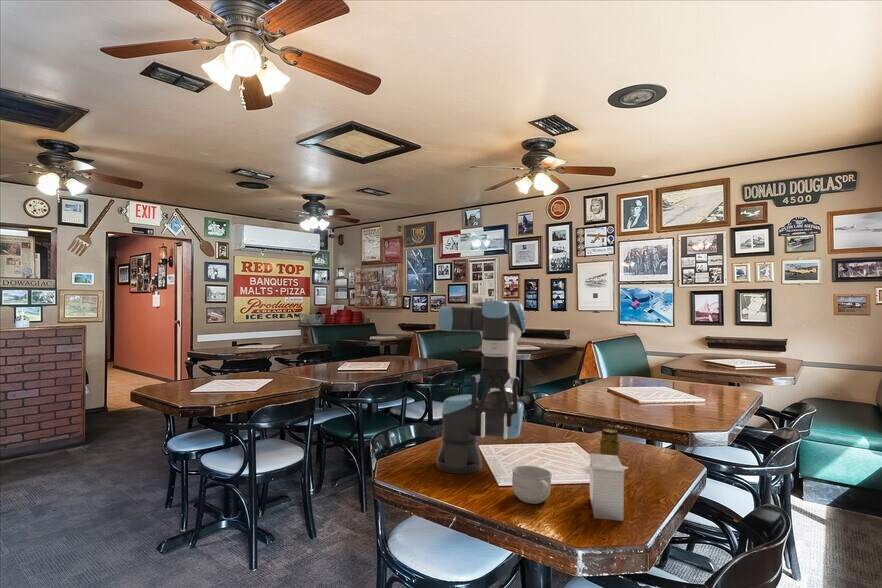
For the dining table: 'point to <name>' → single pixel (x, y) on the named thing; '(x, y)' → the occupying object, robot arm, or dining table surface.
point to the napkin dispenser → (606, 486)
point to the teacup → (531, 483)
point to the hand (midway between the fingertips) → (494, 437)
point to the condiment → (610, 443)
